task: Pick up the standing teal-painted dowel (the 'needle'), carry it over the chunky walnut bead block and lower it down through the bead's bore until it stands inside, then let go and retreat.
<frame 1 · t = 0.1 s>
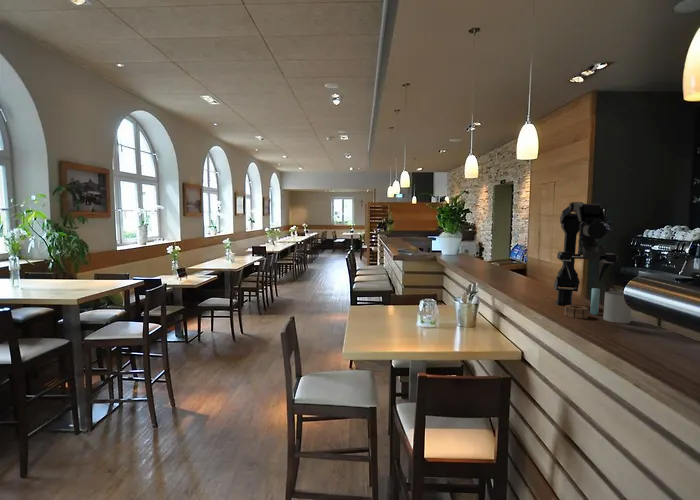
hand: (585, 280, 150), 15 cm above the countertop, fingers open, 9 cm apart
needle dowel: (594, 313, 160), on the countertop
cup: (616, 320, 150), on the countertop
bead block: (576, 316, 156), on the countertop
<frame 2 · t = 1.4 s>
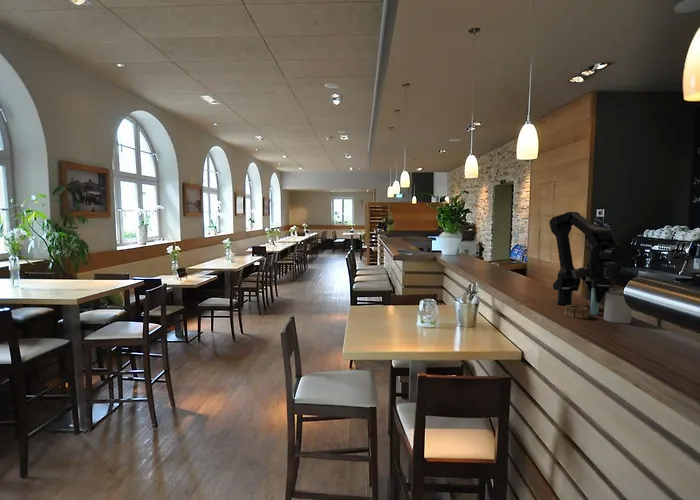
hand: (594, 300, 160), 5 cm above the countertop, fingers open, 8 cm apart
cup: (616, 321, 150), on the countertop, touching gripper
everything else where it was.
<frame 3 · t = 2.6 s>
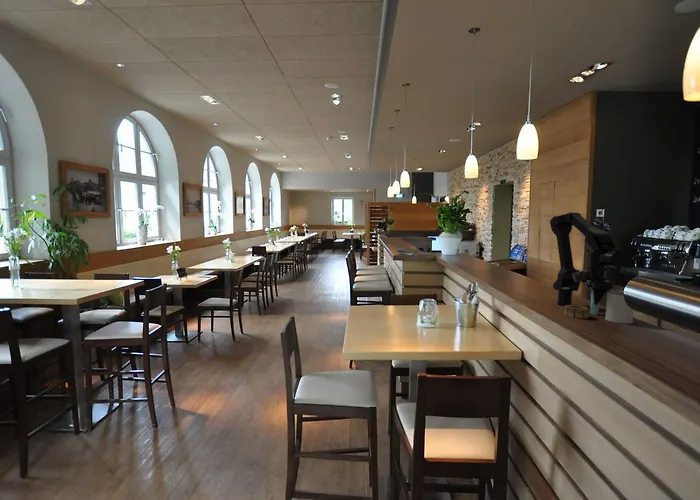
hand: (594, 303, 160), 4 cm above the countertop, fingers closed on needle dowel, 3 cm apart
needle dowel: (594, 313, 160), on the countertop, touching gripper
cup: (618, 321, 150), on the countertop
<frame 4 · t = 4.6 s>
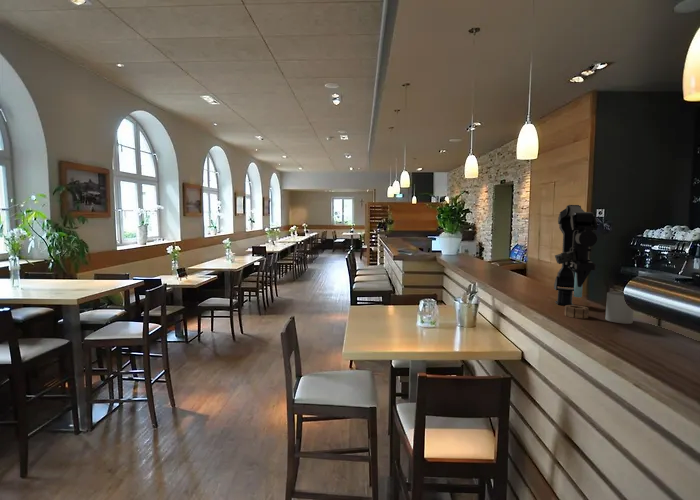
hand: (578, 286, 155), 12 cm above the countertop, fingers closed on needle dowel, 3 cm apart
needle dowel: (577, 296, 155), point 8 cm above the countertop, touching gripper
everything else where it was.
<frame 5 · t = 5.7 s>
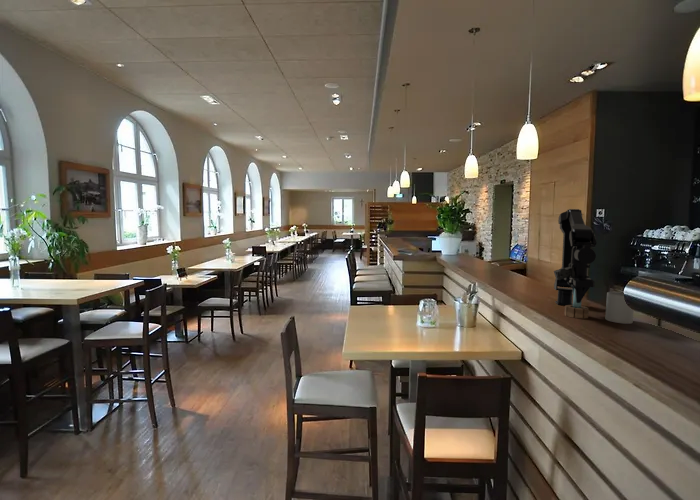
hand: (577, 302, 155), 5 cm above the countertop, fingers closed on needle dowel, 3 cm apart
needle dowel: (576, 312, 156), point 1 cm above the countertop, touching gripper
everything else where it was.
when the fingers open (4 cm above the countertop, at t = 6.5 s): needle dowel stays where it is, resting in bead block.
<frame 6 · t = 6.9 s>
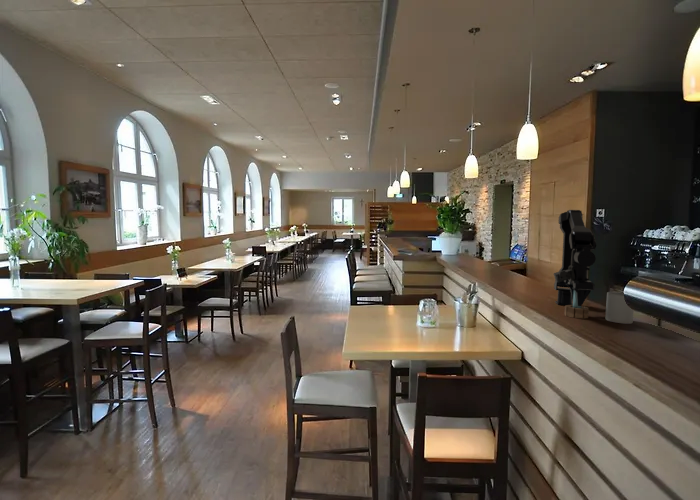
hand: (576, 304, 155), 4 cm above the countertop, fingers open, 7 cm apart
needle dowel: (576, 316, 156), resting in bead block
everything else where it was.
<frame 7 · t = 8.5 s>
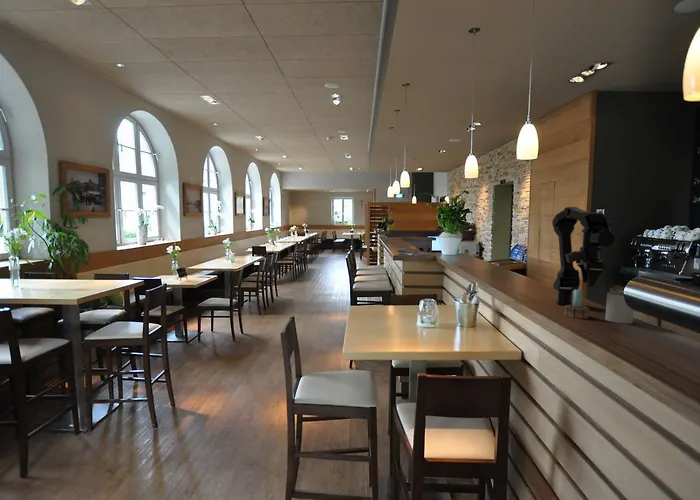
hand: (588, 284, 159), 12 cm above the countertop, fingers open, 9 cm apart
nothing on the countertop moved.
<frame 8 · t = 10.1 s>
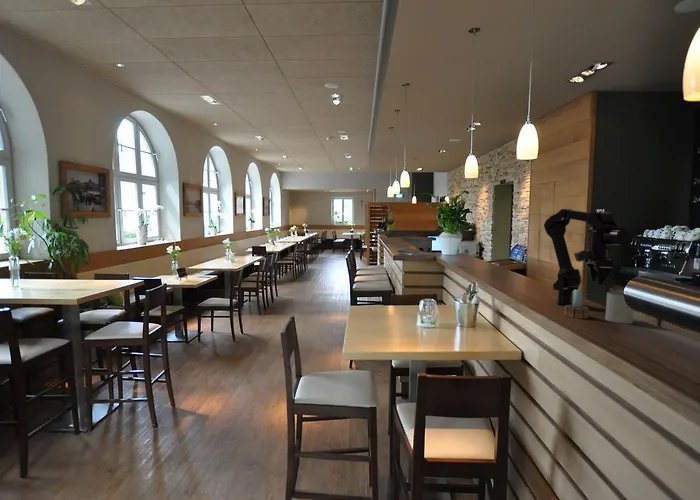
hand: (596, 282, 162), 12 cm above the countertop, fingers open, 9 cm apart
nothing on the countertop moved.
at the end: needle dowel 0.1 cm off-centre on the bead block, point 0.0 cm above the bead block's base; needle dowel tilted 0°; the gripper is holding nothing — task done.
